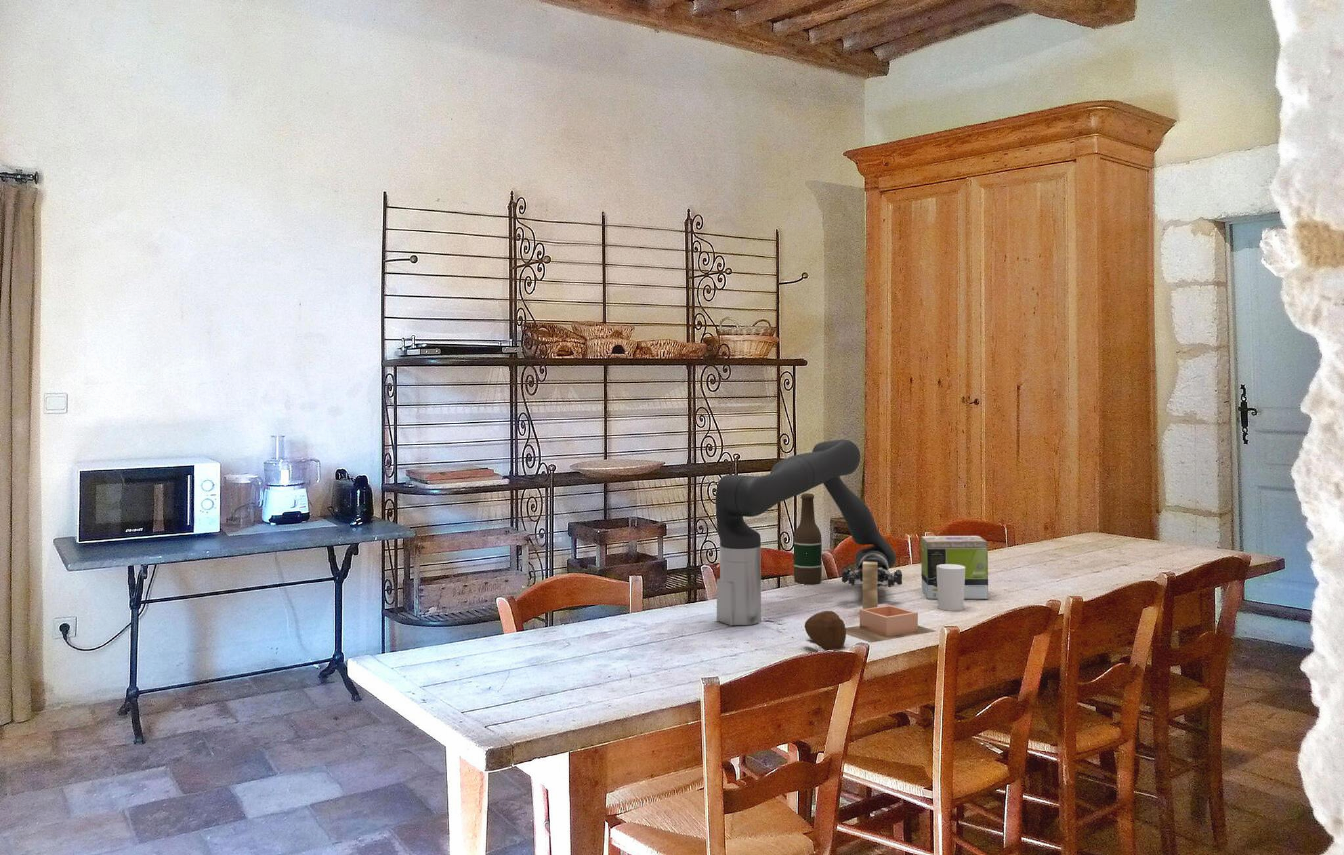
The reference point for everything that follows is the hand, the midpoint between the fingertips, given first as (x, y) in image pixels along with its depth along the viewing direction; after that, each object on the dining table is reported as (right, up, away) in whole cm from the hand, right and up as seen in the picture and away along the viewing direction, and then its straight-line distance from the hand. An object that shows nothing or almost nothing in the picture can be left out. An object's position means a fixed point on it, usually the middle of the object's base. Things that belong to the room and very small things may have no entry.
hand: (871, 582), depth 235 cm
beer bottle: (-10, -6, +36) cm, 37 cm away
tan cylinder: (-2, -7, -8) cm, 11 cm away
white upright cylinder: (+20, -7, +3) cm, 21 cm away
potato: (-15, -9, -33) cm, 37 cm away
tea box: (+24, -6, +17) cm, 30 cm away
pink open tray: (-1, -7, -22) cm, 23 cm away
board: (-2, -8, -23) cm, 24 cm away
